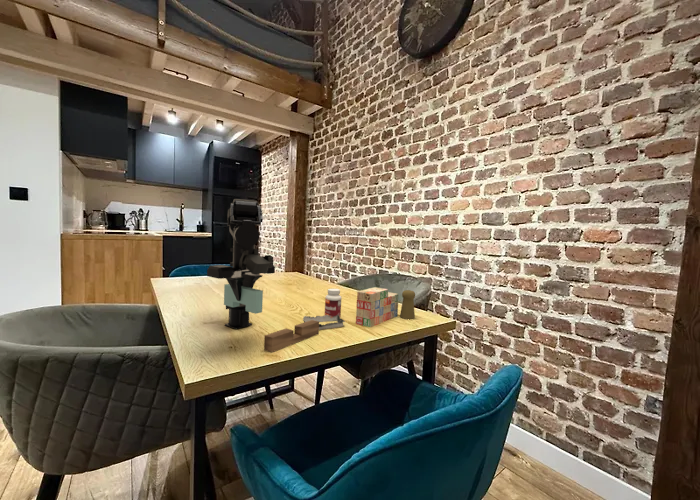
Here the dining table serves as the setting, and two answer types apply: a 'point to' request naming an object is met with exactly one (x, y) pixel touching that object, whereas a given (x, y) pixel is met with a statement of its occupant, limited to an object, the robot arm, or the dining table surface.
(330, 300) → the pill bottle
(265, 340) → the walnut board
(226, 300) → the teal plate
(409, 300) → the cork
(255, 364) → the dining table surface
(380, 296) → the stack of blocks
